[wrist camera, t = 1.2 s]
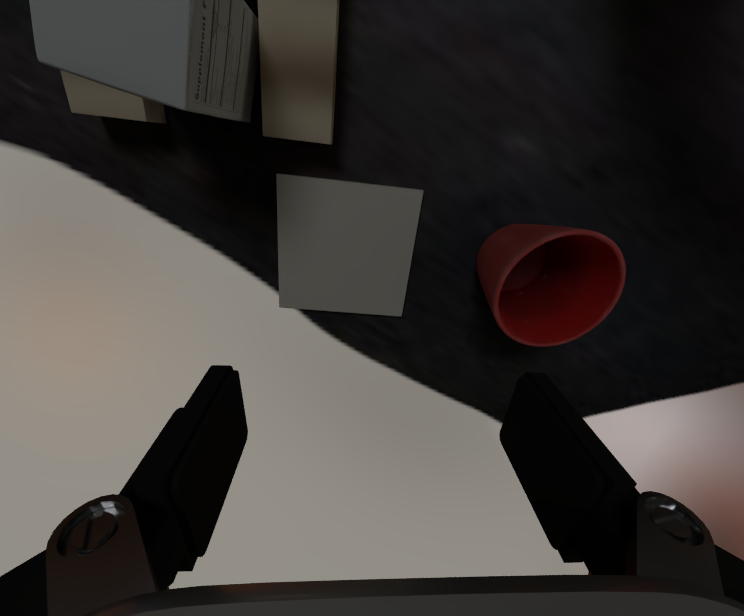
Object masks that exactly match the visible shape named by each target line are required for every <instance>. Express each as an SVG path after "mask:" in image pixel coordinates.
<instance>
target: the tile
mask: <svg viewBox="0 0 744 616" xmlns="http://www.w3.org/2000/svg"><path fill="white" fill-rule="evenodd" d="M276 177H277V222H278V266H279V307H283V308H295V309H309V310H322V311H335V312H348V313H361V314H375V315H388V316H401V317H402V311H403V305H404V300H405V294H406V288H407V282H408V277H409V271H410V265H411V260H412V254H413V248H414V242H415V237H416V231H417V225H418V220H419V214H420V208H421V202H422V197H423V191H424V190H420V189H411V188H403V187H394V186H385V185H376V184H368V183H359V182H350V181H341V180H333V179H324V178H315V177H306V176H298V175H289V174H280V173H277V174H276Z"/></svg>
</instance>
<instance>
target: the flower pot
mask: <svg viewBox="0 0 744 616" xmlns="http://www.w3.org/2000/svg"><path fill="white" fill-rule="evenodd" d="M476 269H477V274H478V277H479V280H480V283H481V285H482V288H483V291H484V293H485V296H486V299H487V301H488V303H489V306H490V308H491V311H492V313H493V316H494V318H495V320H496V322H497V324H498V326H499V327H500V328H501V330H502V331H503V332H504V333H505V334H506V335H507V336H509V337H510V338H511V339H513V340H515V341H517V342H519V343H522V344H525V345H530V346H537V347H547V346H555V345H560V344H563V343H567V342H569V341H572V340H574V339H576V338H578V337H580V336H582V335H584V334H585V333H587V332H589V331H590V330H591V329H593V328H594V327H596V326H597V325H598V324H599V323H600V322H601V321H602V320H603V319H604V318H605V317H606V316H607V315H608V314H609V313H610V311H611V310H612V309H613V307H614V306H615V304H616V303H617V301H618V299H619V297H620V295H621V293H622V290H623V287H624V283H625V275H626V265H625V261H624V258H623V255H622V253H621V251H620V249H619V247H618V246H617V245H616V244H615V243H614V242H613V241H612V240H611V239H609V238H608V237H607V236H605V235H603V234H601V233H598V232H595V231H591V230H585V229H579V228H570V227H559V226H549V225H534V224H512V225H508V226H505V227H502V228H500V229H499V230H497V231H495V232H494V233H493V234H491V235H490V236H489V238H488V239H487V240H486V241H485V242H484V243H483V245H482V246H481V248H480V250H479V253H478V255H477V260H476Z"/></svg>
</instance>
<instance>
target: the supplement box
mask: <svg viewBox="0 0 744 616" xmlns="http://www.w3.org/2000/svg"><path fill="white" fill-rule="evenodd" d="M29 3H30V10H31V18H32V26H33V35H34V42H35V48H36V53H37V58H38V60H39V61H40V62H41V63H44V64H46V65H49V66H51V67H54V68H57V69H59V70H62V71H65V72H68V73H71V74H74V75H77V76H79V77H82V78H85V79H88V80H91V81H94V82H97V83H99V84H102V85H105V86H108V87H111V88H114V89H117V90H120V91H123V92H126V93H129V94H132V95H135V96H138V97H142V98H145V99H148V100H151V101H154V102H157V103H160V104H164V105H167V106H170V107H174V108H177V109H180V110H184V111H190V112H195V113H200V114H205V115H210V116H215V117H219V118H225V119H231V120H236V121H242V122H248V123H250V121H251V111H252V104H253V96H254V87H255V80H256V72H257V64H258V56H259V48H260V47H259V21H258V18H257V17H256V16H255V14H254V13H253V12H252V11H251V9H250V8H249V7H248V5H247V4H246V3H245V1H244V0H29Z"/></svg>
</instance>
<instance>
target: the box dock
mask: <svg viewBox="0 0 744 616" xmlns="http://www.w3.org/2000/svg"><path fill="white" fill-rule="evenodd" d="M339 5H340V0H258V21H259V47H260V74H261V100H262V126H263V136H266V137H274V138H282V139H290V140H298V141H307V142H315V143H323V144H333V126H334V106H335V86H336V65H337V45H338V25H339ZM60 71H61V75H62V79H63V82H64V86H65V90H66V93H67V97H68V101H69V105H70V108H71V112H73V113H81V114H89V115H97V116H105V117H113V118H121V119H129V120H138V121H146V122H155V123H164V124H166V118H165V111H164V105H163V104H160V103H157V102H154V101H151V100H148V99H145V98H142V97H138V96H135V95H132V94H129V93H126V92H123V91H120V90H117V89H114V88H111V87H108V86H105V85H102V84H99V83H97V82H94V81H91V80H88V79H85V78H82V77H79V76H77V75H74V74H71V73H68V72H65V71H62V70H60Z"/></svg>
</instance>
